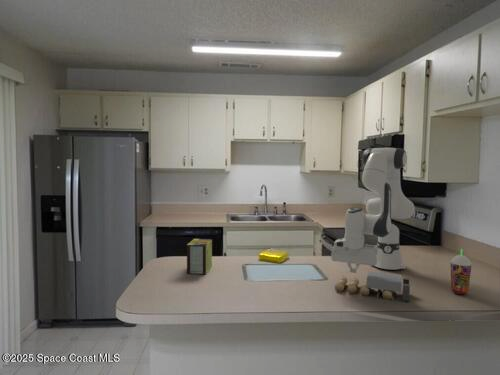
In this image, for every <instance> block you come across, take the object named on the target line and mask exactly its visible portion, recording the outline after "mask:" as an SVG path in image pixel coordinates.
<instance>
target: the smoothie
mask: <svg viewBox="0 0 500 375" xmlns="http://www.w3.org/2000/svg"><path fill="white" fill-rule="evenodd" d="M449 262H450V289H452V292H453V293H455V294H459V295H466V294H467V293H468V292H469V289H470V282H471V281H470V280H471V279H470V278H471V273H472V265H473V264H472V262H471V260H470V259H469V257H467V256H466V255H463V249H462V248H461V249H460V254H456V255H454V257H452V259H451V260H450V261H449Z"/></svg>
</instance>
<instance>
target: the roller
mask: <svg viewBox="0 0 500 375" xmlns="http://www.w3.org/2000/svg"><path fill="white" fill-rule="evenodd" d="M382 298H383V299H384V300H388V301H389V300H391V299H392V291H389V290H382Z"/></svg>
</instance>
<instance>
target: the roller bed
mask: <svg viewBox="0 0 500 375" xmlns="http://www.w3.org/2000/svg"><path fill="white" fill-rule="evenodd" d="M347 282H348V278H347V277H345V276H344V275H343V276H340V277H339V279H338V281H337V282H336V284H335V286H334V290H335V291H336V292H337V293H342V292H343V291H344V289H345V287H346V285H347ZM359 284H360V280H359V279H358V278H356V277H352V279H351V280H350V282H349V284H348V286H347V288H346V289H347V292H348V293H349V294H350V295H355V294H356V293H357V292H356V291H357V290H358V287H359ZM370 290H371V288H368V287H367V279H364V280H363V281H362V284H361V286H360V289H359V292H360V295H361V296H363V297H366V296H368V295H369V294H370ZM380 292H381V289H377V293H376V298H377V299H379V297H380ZM394 297H395V291H392V298H391V299H390V300H391V301H394V299H395V298H394Z"/></svg>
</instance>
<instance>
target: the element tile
mask: <svg viewBox="0 0 500 375" xmlns="http://www.w3.org/2000/svg"><path fill="white" fill-rule="evenodd" d="M289 255H290V252H289V251H285V250H277V249H276V250H275V249H273V248H270V249H269V248H268V249H266V250H265V249H264V251H262V252H260V253H258V260H259V261H264V262H271V263H278V264H280V263H281V264H282V263H283V262H286V261H287V260H288V259H289V258H290V256H289Z"/></svg>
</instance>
